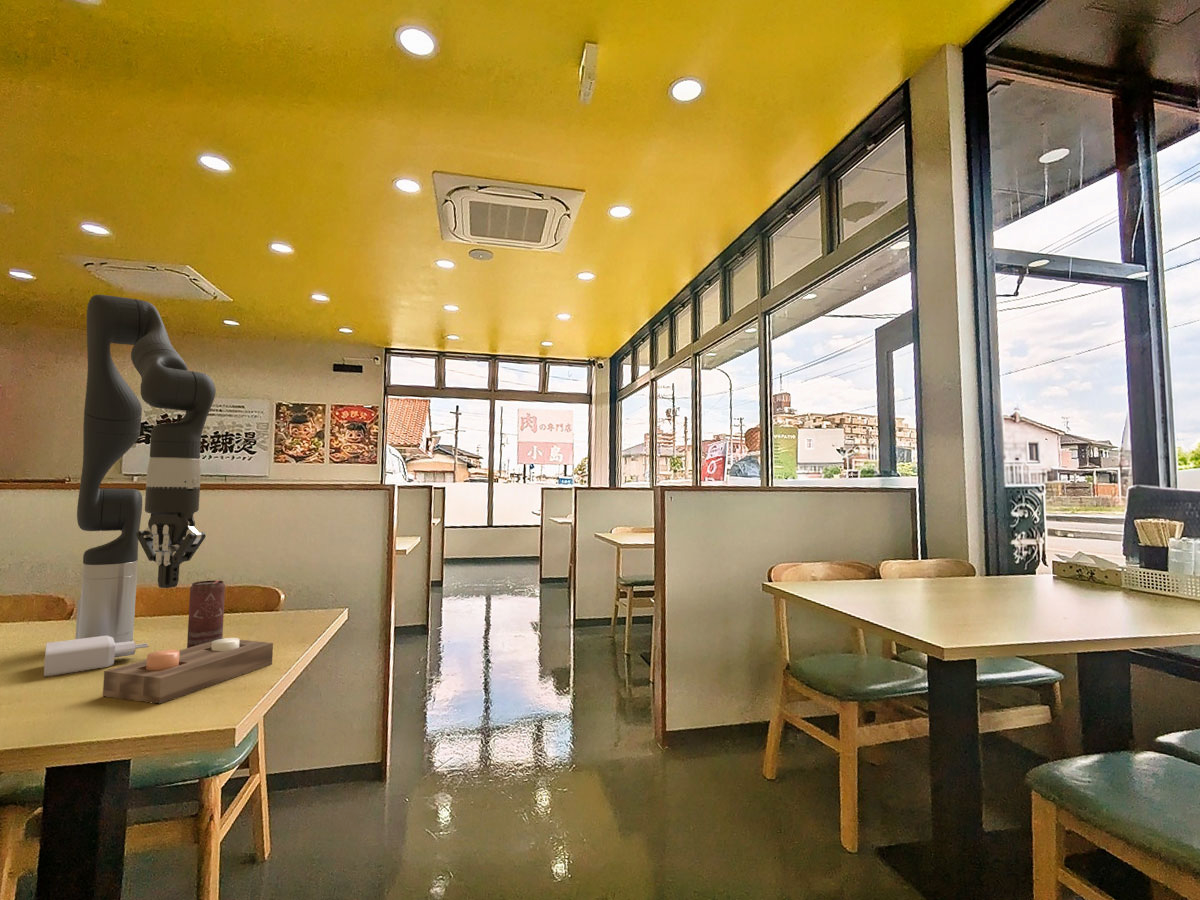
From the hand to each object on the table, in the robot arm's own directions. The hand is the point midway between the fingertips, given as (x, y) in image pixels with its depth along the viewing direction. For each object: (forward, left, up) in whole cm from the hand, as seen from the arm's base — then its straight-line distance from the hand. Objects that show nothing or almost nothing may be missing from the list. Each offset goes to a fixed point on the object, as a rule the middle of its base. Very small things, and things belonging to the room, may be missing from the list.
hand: (167, 587), depth 100 cm
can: (-15, +21, -17) cm, 31 cm away
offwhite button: (0, +12, -16) cm, 20 cm away
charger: (-25, +7, -17) cm, 32 cm away
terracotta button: (0, 0, -15) cm, 15 cm away
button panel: (0, +6, -17) cm, 18 cm away
